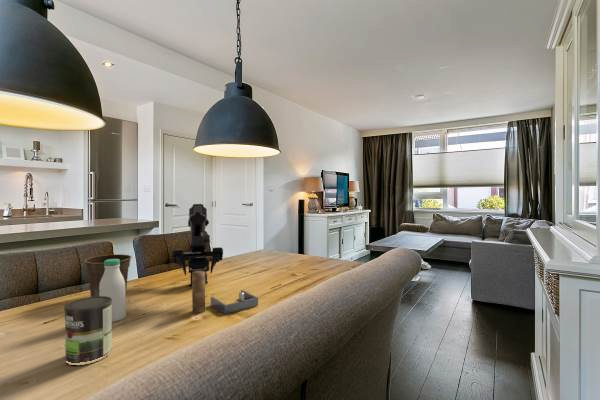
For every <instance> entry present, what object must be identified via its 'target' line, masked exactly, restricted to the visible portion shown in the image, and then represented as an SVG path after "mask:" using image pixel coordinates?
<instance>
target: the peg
mask: <svg viewBox="0 0 600 400" xmlns="http://www.w3.org/2000/svg"><path fill="white" fill-rule="evenodd" d="M191 288H192V289H191V291H192V293H191V296H192V297H191V298H192V301H191V302H192V303H191V309H192V314H202V313H204V312H206V284H205V271H195V272H192V286H191Z"/></svg>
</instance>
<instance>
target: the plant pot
mask: <svg viewBox="0 0 600 400" xmlns="http://www.w3.org/2000/svg"><path fill="white" fill-rule="evenodd" d="M108 259H120V266H119V269H120V272H121V274H122V276H123V278H124V280H125V292H126V293H127V286H128V275H129V268H130V266H131V259H132V255H129V254H117V253H116V254H106V255H98V256H92V257H91V256H90V257H88V258H86V259H84V263H85V267H86V272H87V275H88V284H89V291H90V297H94V296H99V285H100V281H101V279H102V277H103V274H104V271H105V267H104V261H105V260H108Z"/></svg>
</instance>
